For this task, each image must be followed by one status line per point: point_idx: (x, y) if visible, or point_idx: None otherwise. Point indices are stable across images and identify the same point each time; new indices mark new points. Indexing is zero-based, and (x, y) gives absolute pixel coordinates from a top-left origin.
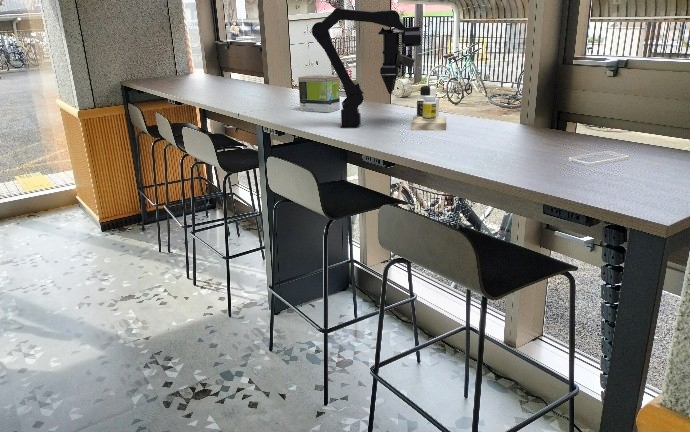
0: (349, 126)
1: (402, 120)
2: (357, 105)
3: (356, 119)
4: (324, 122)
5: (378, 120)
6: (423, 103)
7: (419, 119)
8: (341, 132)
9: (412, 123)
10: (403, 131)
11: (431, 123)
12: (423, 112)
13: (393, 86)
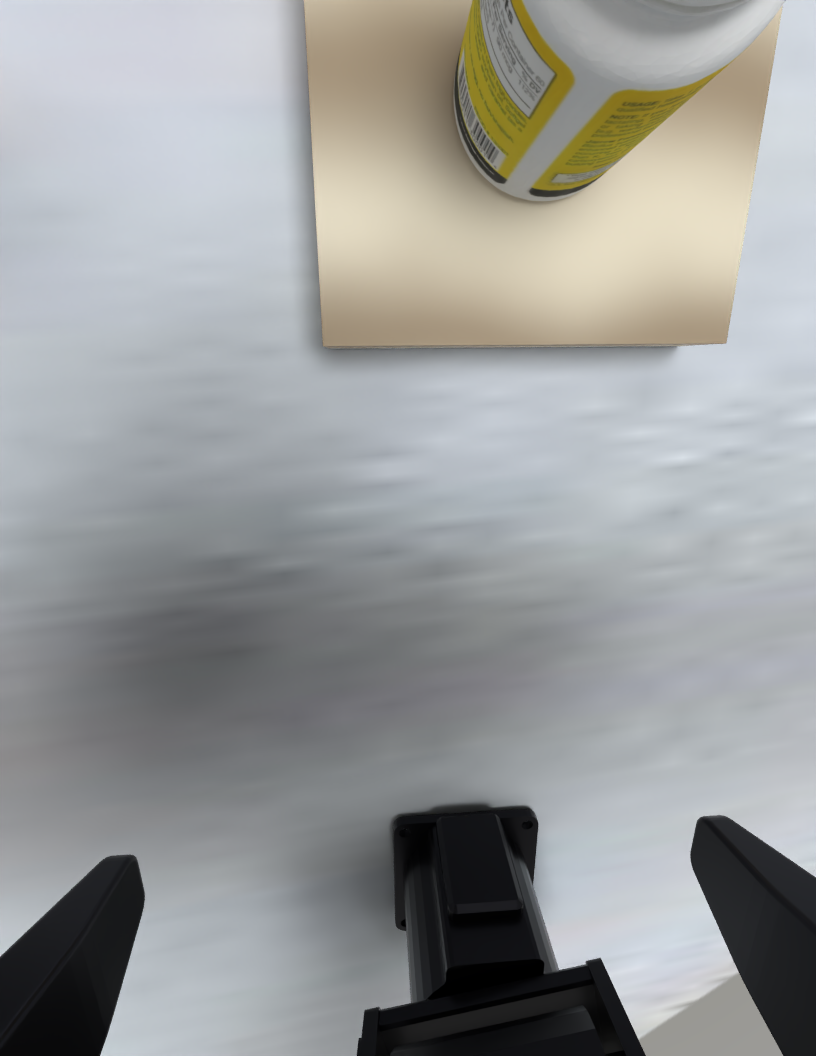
0: (534, 867)
1: (147, 484)
2: (624, 1020)
3: (518, 876)
4: (311, 1036)
5: (181, 710)
6: (704, 75)
7: (506, 250)
8: (681, 870)
9: (725, 333)
10: (723, 425)
11: (770, 64)
12: (629, 149)
13: (90, 954)
